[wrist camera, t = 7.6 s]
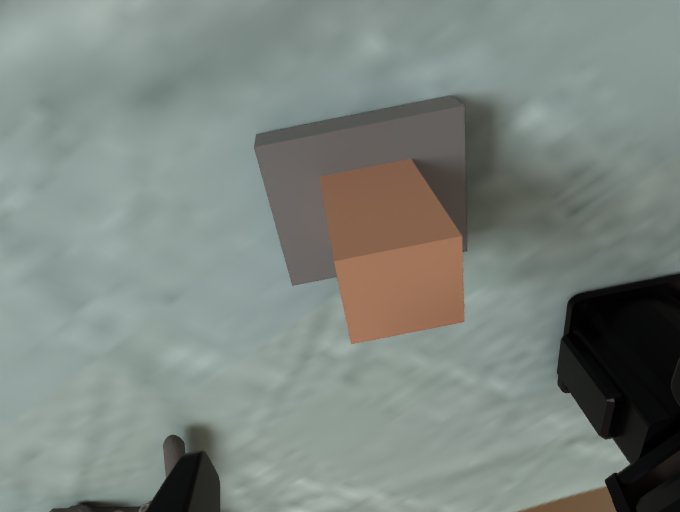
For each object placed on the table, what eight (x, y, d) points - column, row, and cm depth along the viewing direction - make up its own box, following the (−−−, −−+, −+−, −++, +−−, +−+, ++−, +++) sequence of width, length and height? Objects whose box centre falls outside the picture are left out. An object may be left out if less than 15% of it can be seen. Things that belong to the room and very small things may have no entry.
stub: (451, 95, 16) (542, 165, 11) (456, 233, 19) (529, 346, 14) (256, 134, 16) (241, 225, 11) (291, 266, 19) (295, 392, 14)
